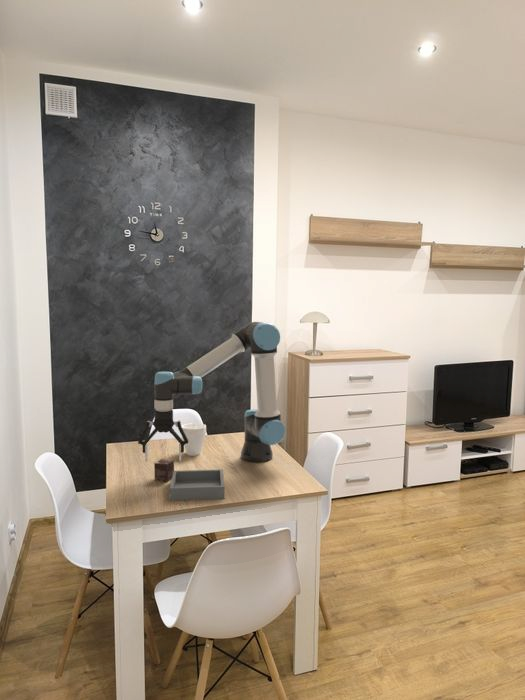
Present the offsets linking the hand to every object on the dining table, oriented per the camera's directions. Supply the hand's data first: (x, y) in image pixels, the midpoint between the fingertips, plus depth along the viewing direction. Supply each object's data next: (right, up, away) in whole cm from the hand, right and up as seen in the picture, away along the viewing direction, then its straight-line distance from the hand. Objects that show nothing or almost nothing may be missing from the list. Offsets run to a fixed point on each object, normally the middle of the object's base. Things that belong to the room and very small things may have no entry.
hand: (163, 460), depth 203 cm
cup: (+7, -5, +37) cm, 38 cm away
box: (0, -8, +1) cm, 8 cm away
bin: (+16, -9, -12) cm, 21 cm away
